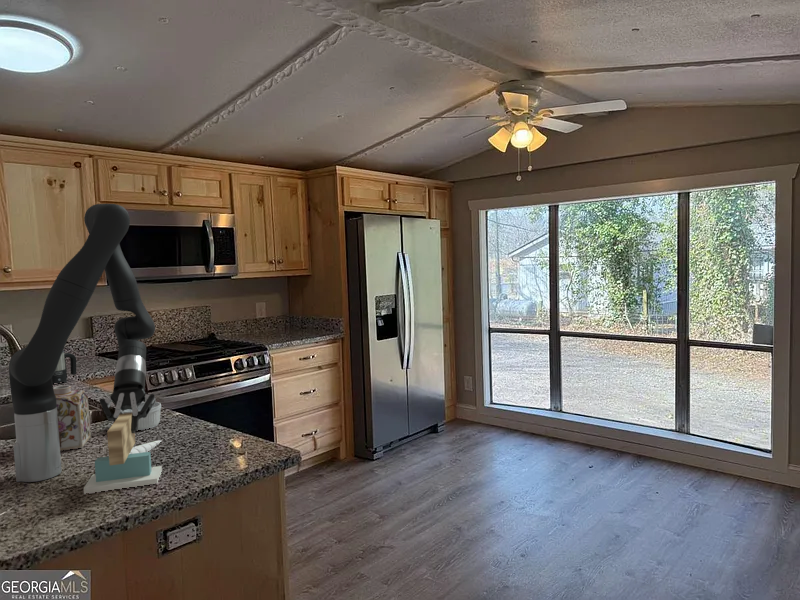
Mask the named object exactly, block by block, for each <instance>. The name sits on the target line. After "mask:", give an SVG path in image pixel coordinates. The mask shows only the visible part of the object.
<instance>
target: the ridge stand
mask: <svg viewBox="0 0 800 600" xmlns="http://www.w3.org/2000/svg"><path fill="white" fill-rule="evenodd" d="M151 457H152V455H151V451H149V452H143V453H134V454H129V455H128V457H127V459H126V461H125V463H124V464H118V465H110V463H109V455H108V456H101V457H97V458H96V459H95V461H94V471H95V474H92V475H91V477H90V478H89V480H87V482H86V484H85V485H84V487H83V494H84V495H87V494H86V493H89V494H95V492H97V493H102V492H101V491H105V492H109V491H108V490H112V491H115V490H114V489H120V490H123V489H122V488H127V489H130V488H129V487H135V488H138V487H137V486H143V487H145V486H144V485H149V484H155V483H158V484H159V482H158V480H159V481H160V479H159V477H160V478H161V476H160V475H162V473H163V466H162V465H159V466H152V459H151ZM161 472H162V473H161Z"/></svg>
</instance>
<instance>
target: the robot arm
mask: <svg viewBox="0 0 800 600" xmlns="http://www.w3.org/2000/svg"><path fill="white" fill-rule="evenodd" d="M130 218H131V217H130V215H129V212H128V210H127V209H126V208H125V207H124V206H122V205H120V204H117V203H97V204H96V203H95V204H92V205H91V206H90V207H88V208H87V210H86V211H85V212H84V217H83V219H84V220H83V221H84V225H85V227H86V230H87V232H88V236H87V238H86V240H85V242H84V244H83V245H82V246H81V248H80V249H79V251H78V252H77V253H76V254H75V255H74V256H72V258H71V259H69V261H68V262H67V263H66V264H65V265H64V267H63V268H62V269H61V270H60V271H59V273H58V275H57V276H56V278H55V280H54V282H53V283H52V285H51V288H50V289H49V292H48V294H47V296H46V299H45V302H44V306H43V309H42V313H41V317H40V321H39V323H38V326H37V328H36V331H35V332H34V334H33V335H32V337H31V339H30V341H29V343H28V344H27V345H26V346H25V347H23V348H21V349H18V350H17V351H16V352H15V353H14V354H13V355H12V356H11V357H10V360H9V363H8V377H9V387H10V396H11V402H12V405H13V417H14V429H15V439H16V441H15V443H14V444H13V456H14V457H13V459H14V469H15V470H14V471H15V480H16V482H23V483H31V482H33V483H34V482H41V481H44V480H49V479H51V478H54V477H56V476H58V475H60V474H61V473H62V472H63V471H62V458H61V451H60V442H59V429H58V416H57V402H56V396H55V393H54V389H53V388H54V385H53V383H52V376H53V375H54V373H55V371H56V368H57V365H58V363H59V360H60V357H61V354H62V352H63V351H64V349H65V346H66V344H67V341H68V339H69V337H70V335H71V334H72V332H73V331H74V329H75V327H76V325H77V323H79V320H80V318H81V316H82V315H83V314H84V311H85V310H86V307H87V306H88V304H89V302H90V299H91V298H92V296H93V294H94V292H95V290H96V287H97V286H98V284H99V281H100V279H101V277H102V275H103V274H104V273H105V275H106V279H107V281H108V285H109V290H110V293H111V297H112V300H113V304H114V307H115V309H116V310H117V311H119V312H120V311H121V312H131V313H133V314H134V315H132V316H126V317H121V318H119V319H117V321H116V322H115V324H114V327H113V328H114V333H115V334H114V335H115V337H116V340H117V347H118V354H117V362H116V365H115V371H114V372H115V373H114V381H113V382H114V383H113V389H112V390H113V391H112V393H111V394H110V396H109V397H107V398H106V399H105V398H101V399H99V403H100V405H101V409H102V410H103V412H104V415H105V417H106V418H107V419H106V420H107V421H108V422H113V423H114V422H115V421H116V419H117V418H118V417H119V415H120V414H123V413H124V410H127V409H131V410H132V413H133V417H132V422H131V432H132V433H136V432H138V431H137V430H138V421H139V419H140V418H142V417H143V418H145V417H146V416H147V415H148V413H149V411H150V410H151V408H152V406H153V405H154V403H155V402H157V400H156V396H155V394H154V393H151V394H147V392H146V391H145V389H146V387H145V386H146V376H147V366H146V365H147V364H146V359H147V345H146V344H145V343H144V342H142V341H140V340H145V339H150V338H151V337H153V336H154V334H155V331H156V326H155V321H154V319H153V318H152V316H151V315H150V313H149V312H148V309H147V308H146V306H145V305H144V302H143V300H142V298H141V294H140V290H139V286H138V282H137V279H136V277H135V274H134V272H133V270H132V269H131V267H130V265H129V263H128V261H127V260H126V258H125V256H124V253H123V251H122V248H121V242H122V240H123V238H124V237H125V236H126V234H127V232H128V231H129V227H130V225H131V219H130ZM142 402H145V404H144V406H143V407H142V409H141V411H138V406H139V405H140V404H141V403H142ZM112 403H113V404H115V405H116V407H115V409H114V410H115V411H114V413H112V412H111V411H110V407H111V406H112V405H111V404H112ZM115 405H114V406H115ZM113 423H112V424H113Z"/></svg>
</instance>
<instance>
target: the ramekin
mask: <svg viewBox="0 0 800 600" xmlns="http://www.w3.org/2000/svg"><path fill="white" fill-rule="evenodd" d="M144 404H145V401H142V403H141V404H140V405H139V406H138V411H141V409H142V407H143V406H144ZM161 409H162V404H161V402H158V401H155V403H154V405H153V406H152V408H151V410H150V411H149V413H148V415H147V416H146V417H145V418H143V417H142V418H140V419H139V421H138V430H141V431H145V429H146V430H149V428H150V429H153V428H156V427H157V426H158V425H159V424H160V422H161ZM124 413H132V410H131V409H127V410H124ZM138 430H137V431H136V432H139V431H138Z"/></svg>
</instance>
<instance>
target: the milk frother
mask: <svg viewBox="0 0 800 600" xmlns="http://www.w3.org/2000/svg"><path fill="white" fill-rule="evenodd" d="M66 358H69V359H70V374H71V375H72V376H75V375H77V356H76V355H75V354H73V353H72V352H71V353H70V352H66V353H65V350H63V352H62V354H61V357H60V360H59V363H58V365H57V368H56V371H55V373H54V375H53V376H52V383H60V382H65V383H67V382H68V371H67V362H66V361H67V360H66ZM66 381H67V382H66Z"/></svg>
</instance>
